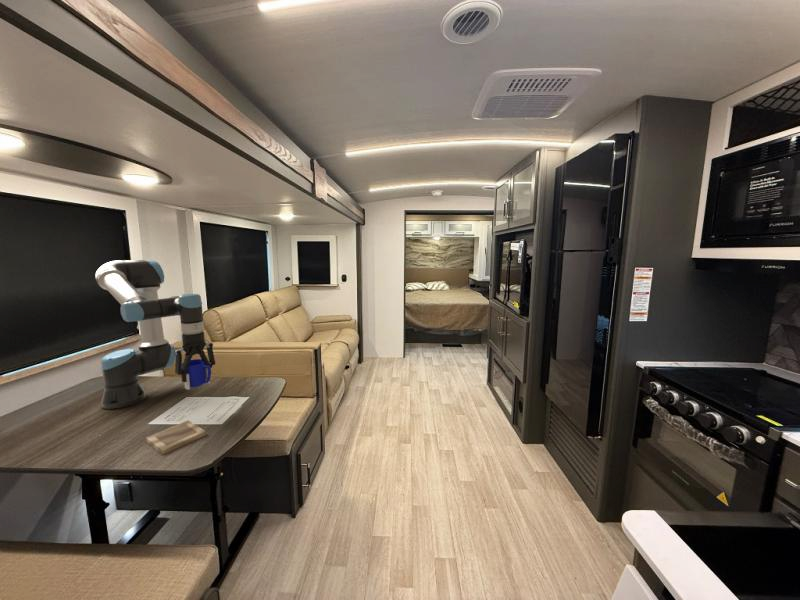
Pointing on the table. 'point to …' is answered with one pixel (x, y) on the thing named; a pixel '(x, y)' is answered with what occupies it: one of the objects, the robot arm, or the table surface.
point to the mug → (198, 372)
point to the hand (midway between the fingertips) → (197, 385)
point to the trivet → (175, 436)
